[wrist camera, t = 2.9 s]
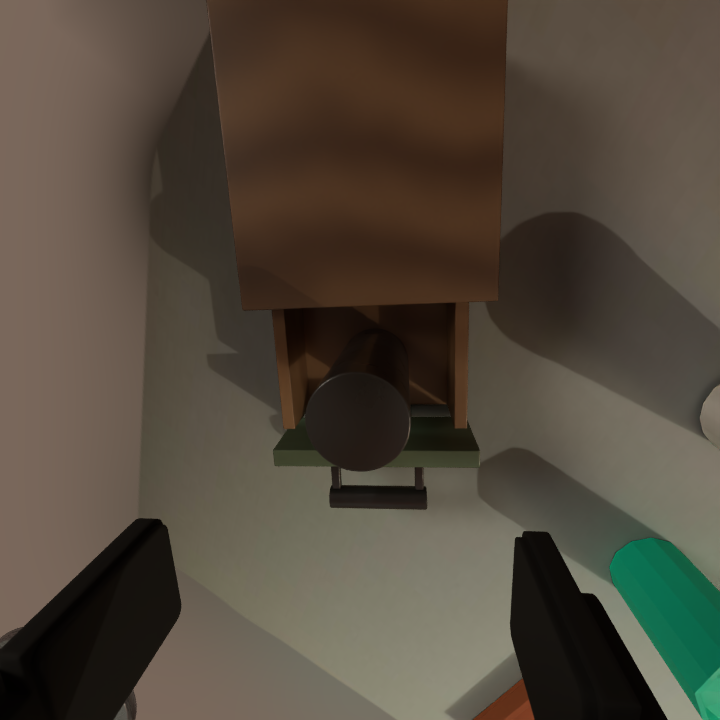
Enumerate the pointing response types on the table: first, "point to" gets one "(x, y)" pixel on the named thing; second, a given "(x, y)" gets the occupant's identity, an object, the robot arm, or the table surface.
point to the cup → (712, 417)
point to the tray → (509, 706)
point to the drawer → (426, 383)
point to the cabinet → (362, 148)
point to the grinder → (363, 404)
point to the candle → (675, 615)
